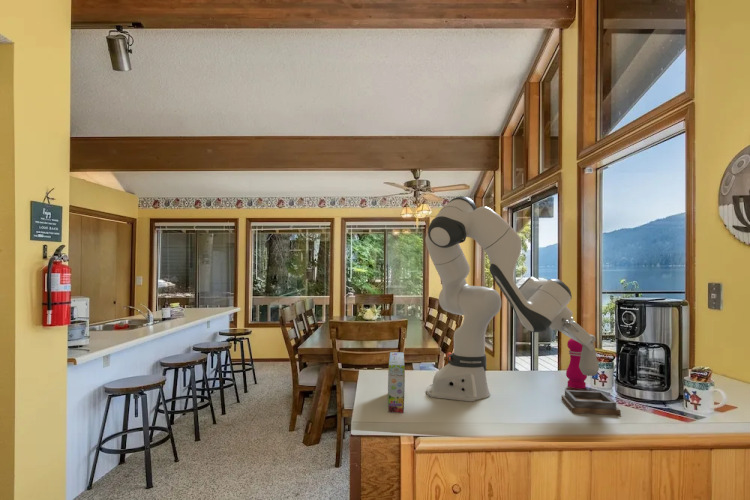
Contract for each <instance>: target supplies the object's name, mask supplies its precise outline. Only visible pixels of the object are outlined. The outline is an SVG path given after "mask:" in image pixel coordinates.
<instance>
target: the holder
mask: <svg viewBox="0 0 750 500" xmlns="http://www.w3.org/2000/svg"><path fill="white" fill-rule="evenodd" d="M561 401H562V402H563V404H565V406H566V407H567V408H568V409H569V411H570V412H571V413H573V414H590V415H591V414H593V415H611V416H612V415H614V416H621V412H622V411H621V409H619V408H618V407H617V402H615V401H614V399H612V398H611V397H610V396H608V395H607V394H606V393H605V392H603V391H596V390H595V391H593V390H592V391H591V390H571V389H570V390H569V389H565V390H564V395H563V394H562V395H561Z"/></svg>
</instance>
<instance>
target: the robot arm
mask: <svg viewBox="0 0 750 500" xmlns="http://www.w3.org/2000/svg"><path fill="white" fill-rule="evenodd" d="M467 238H471V239H473V240H474V241H475V242H476V243H477V244H478V245H479V246H480V247H481V248H482V249H483V251H484V252H485V254H486V255H487V258H488V260H489V265H490V266H489V273H490V275H491V277H492V278H493V280H494V281H495V283H496V285H497V286H498V288H499V290H500V291H501V293H502V295H504V297H505V298H506V301H507V302H508V303H509V305H510V306H511V307H512V310H513V311H514V312H515V315H516V318H517V319H518V321H519V323H520V324H521V325H522V326H523V328H525V329H526V330H527V331H529V332H531V333H543V332H546V331H547V330H548V329H549V328H550V329H551V330H552V331H555V330H557V331H558V332H561V333H562V334H563V335H564V336H566V337H568V338H569V339H573V340H575V341H577V342H579V343H580V344H582V345H584V346H586V347H587V348H588V349H589V350H590V351H592V350H593V349H594V348H595V345H594V346H593V345H592V344H591V342H590V341H591V340H592V339H593V338H592V337H591V335H592V334H590V333H588V331H586V330H585V329H584V328H583V327H582V326H581V325H580V324H578V323H577V322H576V321H575V320H574V317H573V311H572V310H571V309H570V308H569V306H568V305H569V303H570V302H571V300H572V291H571V288H570V287H569V286H567V284H565V282H564V281H563V280H560V279H557V278H550V279H547V280H539V279H538V278H537V277H535V276H530V277H528V278H527V279H526V280H525V281H524V282H522V284H521V285H520V286H519V287H518V285H517V284H516V283H515V280H514V271H515V268H516V264H517V262H518V260H519V257H520V255H521V251H522V240H521V237H520V236H519V234H518V233H517V232H516V230H515V229H514V228H513V227H512V226H511V224H509V222H508V221H506V220H505V219H504V218H503V217H502V216H501V215H500V214H499V213H497V212H496V211H495V210H493V209H491V208H490V207H488V206H479V207H477V205H476V203H475V202H474V200H472V199H471V198H470V197H467V196H456V197H454V198H452V199H450V200H449V201H448V202H447V203H446V204H445V205H444V206H443V207H442V208H441V209H440V210H439V211H438V213H437V214H436V215H435V217H434V218H433V219H432V220H431V222H430V223H429V225H428V229H427V234H426V236H425V245H426V248H427V251H428V254H429V257H430V259H431V262H432V264H433V265H434V267H435V270H436V272H437V274H438V277H439V278H440V281H441V290H440V292H439V295H438V303H439V306H440V308H441V309H442V310H443V311H445V312H448V313H450V314H453V315H459V316H463V321H462V324H461V326H459V327H457V328H456V329H455V330H454V333H453V353H452V352H447V353H446V358H447V364H446V365H445V366H443V367H442V368H440V369H439V370H438V371H436V373H435V374H434V376H433V379H432V383H431V384H429V385H428V386H427V387H426V394H427V396H429V397H431V398H438V399H445V400H457V401H463V402H475V401H478V400H482V399H485V398H486V399H487V398H488V397H489V396H490V395H491V393H490V390H489V385H488V380H487V374H486V373H487V366H488V365H487V355H486V350H485V349H486V333H487V330H488V326H489V323H490V322H491V320H492V319H493V318H494V317H495V316H497V315H498V314H499V312H500V310H501V308H502V298H501V296H500V293H499V292H498V290H495V289H493V288H491V287H487V286H482V285H481V286H480V285H470V284H468V282H467V279H466V278H468V275H469V274H470V272H471V266H470V264H469V262H468V260H467V258H466V256H465V253H464V251H463V249H462V246H461V245H460V244H462V243H464V242H465V241H466V240H467ZM595 349H596V348H595Z"/></svg>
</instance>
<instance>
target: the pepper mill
mask: <svg viewBox="0 0 750 500" xmlns="http://www.w3.org/2000/svg"><path fill="white" fill-rule="evenodd" d="M567 347H568V349H569V350H568V352H569V353H568V354H569V355H570V357H569V358H570V359H569V364H568V366H567V369H566V373H565V376H566V378H567V379H568V380H567V387H569V388H571V389H579V390H582V389H586V388H587V383H586V382H585V381H586V380H587V377H588V376H587V375H583V373H582V372H581V370H580V368H579V364H580V359H581V353H582V347H583V345H582V344H580V343H579V342H577V341H575V340H573V339H571V338H569V339H568V341H567Z"/></svg>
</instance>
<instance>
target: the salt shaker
mask: <svg viewBox="0 0 750 500" xmlns="http://www.w3.org/2000/svg"><path fill="white" fill-rule="evenodd" d="M590 335H591V337H592V338H593V339H592V340H591V341H590V342H591V344H592V345H593V346H594V347H595V343H596V336H595V335H593V334H590ZM579 368H580V370H581V372H582V373H583V375H587V377H595V376H597V374H598V372H599V370H600V366H599V361H598V358H597V352H596V348H594V349H593V350H592V351H590V350H589V349H588V348H587V347H586V346H584V345H583V347H582V353H581V359H580V364H579Z"/></svg>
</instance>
